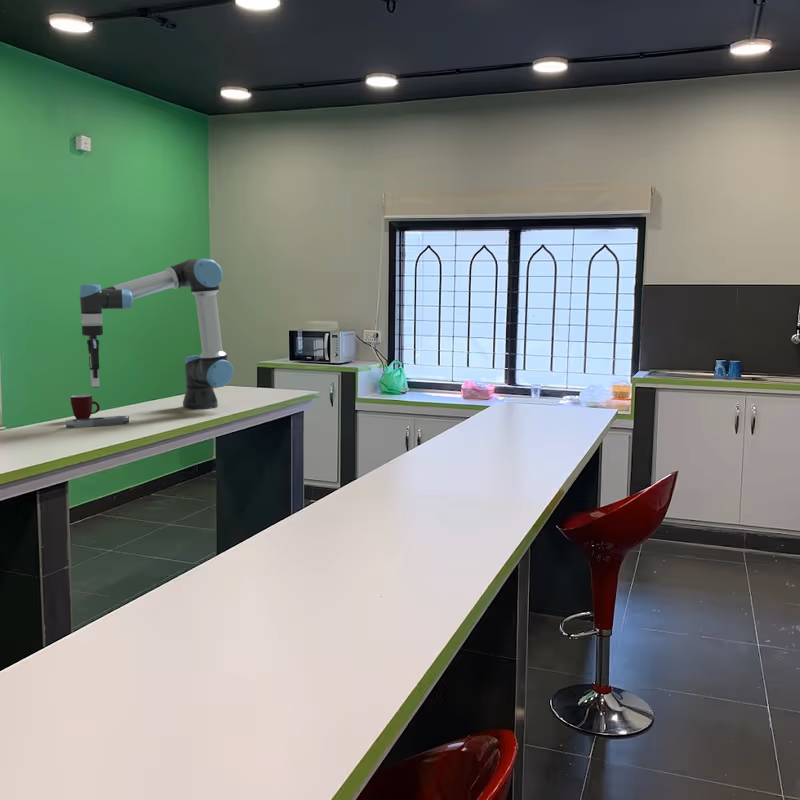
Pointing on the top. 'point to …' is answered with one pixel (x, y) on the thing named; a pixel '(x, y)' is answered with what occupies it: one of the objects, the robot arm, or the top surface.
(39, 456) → the top surface
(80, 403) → the mug
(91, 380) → the pin
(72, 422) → the grey rounded bar
